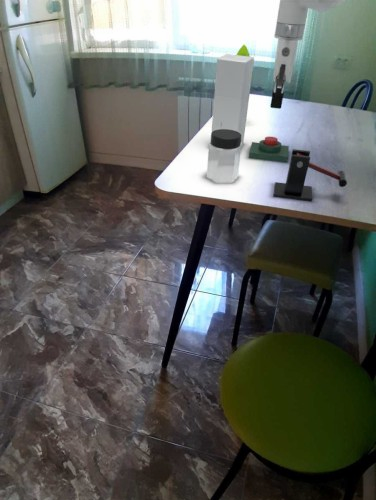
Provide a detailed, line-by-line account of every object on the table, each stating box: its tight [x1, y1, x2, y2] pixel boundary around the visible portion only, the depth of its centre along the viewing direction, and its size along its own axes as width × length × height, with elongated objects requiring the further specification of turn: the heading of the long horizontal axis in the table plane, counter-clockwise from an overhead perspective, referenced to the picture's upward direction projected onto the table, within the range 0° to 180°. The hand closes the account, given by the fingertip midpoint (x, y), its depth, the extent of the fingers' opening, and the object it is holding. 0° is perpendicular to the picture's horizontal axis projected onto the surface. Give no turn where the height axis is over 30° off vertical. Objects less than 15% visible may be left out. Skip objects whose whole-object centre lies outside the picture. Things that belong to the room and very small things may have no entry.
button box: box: [248, 139, 290, 164], centre depth 130 cm, size 12×10×4 cm
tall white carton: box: [210, 53, 255, 146], centre depth 128 cm, size 9×9×25 cm
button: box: [264, 136, 279, 146], centre depth 129 cm, size 4×4×2 cm
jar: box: [206, 129, 243, 184], centre depth 113 cm, size 9×8×12 cm
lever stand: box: [272, 148, 313, 202], centre depth 108 cm, size 10×8×11 cm
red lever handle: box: [296, 153, 348, 188], centre depth 106 cm, size 14×6×2 cm, turn 79°
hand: (275, 107), depth 122 cm, fingers closed
